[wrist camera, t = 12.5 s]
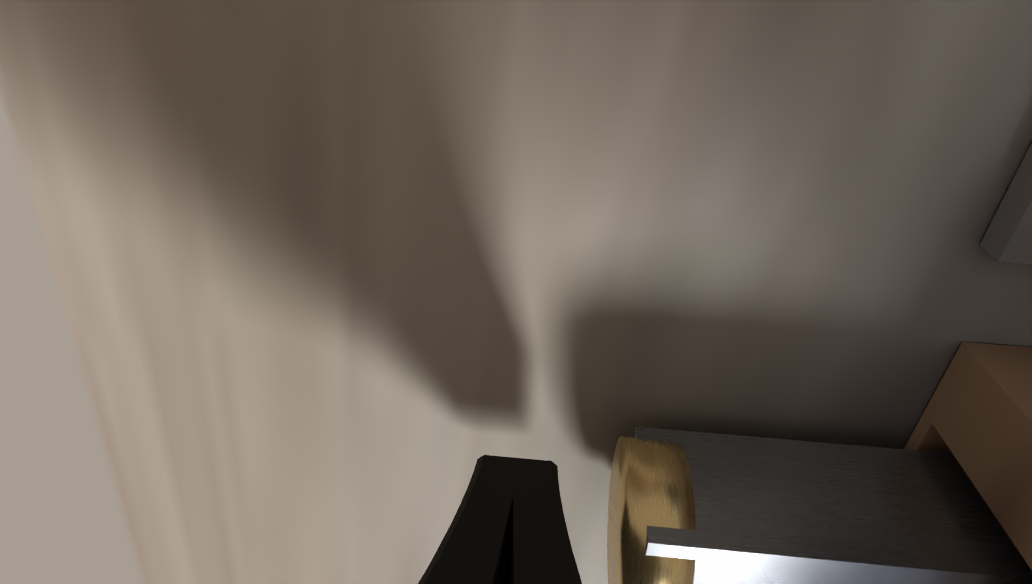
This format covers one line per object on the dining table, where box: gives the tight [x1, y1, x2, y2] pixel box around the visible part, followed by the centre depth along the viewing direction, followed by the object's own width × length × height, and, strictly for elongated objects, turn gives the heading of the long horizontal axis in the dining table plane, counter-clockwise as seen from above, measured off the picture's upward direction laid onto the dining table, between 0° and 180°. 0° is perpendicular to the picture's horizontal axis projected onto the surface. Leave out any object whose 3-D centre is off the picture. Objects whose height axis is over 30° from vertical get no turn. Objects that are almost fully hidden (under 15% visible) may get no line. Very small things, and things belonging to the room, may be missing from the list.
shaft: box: [607, 427, 1032, 584], centre depth 10 cm, size 14×3×3 cm, turn 88°
